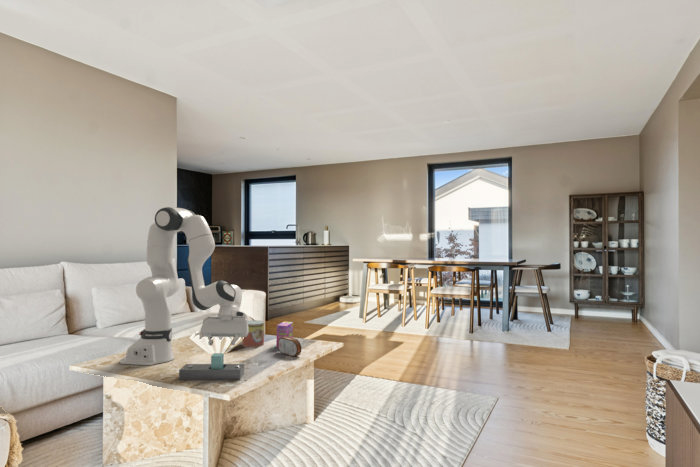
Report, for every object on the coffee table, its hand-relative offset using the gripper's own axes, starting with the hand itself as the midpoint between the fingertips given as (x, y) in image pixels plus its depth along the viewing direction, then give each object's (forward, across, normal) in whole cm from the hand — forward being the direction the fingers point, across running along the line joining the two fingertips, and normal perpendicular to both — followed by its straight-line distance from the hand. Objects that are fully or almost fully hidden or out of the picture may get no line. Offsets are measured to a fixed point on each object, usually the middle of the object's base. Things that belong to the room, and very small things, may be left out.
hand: (221, 344), depth 179 cm
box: (-23, +22, +39) cm, 51 cm away
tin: (-10, +26, +26) cm, 39 cm away
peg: (+13, 0, +3) cm, 13 cm away
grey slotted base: (+13, -2, +3) cm, 14 cm away
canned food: (-24, +5, +41) cm, 48 cm away
